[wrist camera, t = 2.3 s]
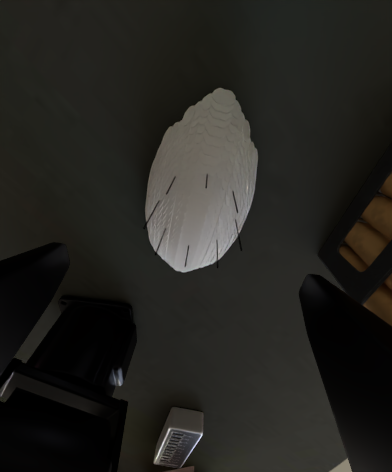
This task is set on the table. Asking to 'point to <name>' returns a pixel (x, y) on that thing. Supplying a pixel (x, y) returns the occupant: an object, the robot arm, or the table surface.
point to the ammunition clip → (366, 243)
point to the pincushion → (201, 183)
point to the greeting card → (183, 469)
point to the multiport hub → (178, 437)
